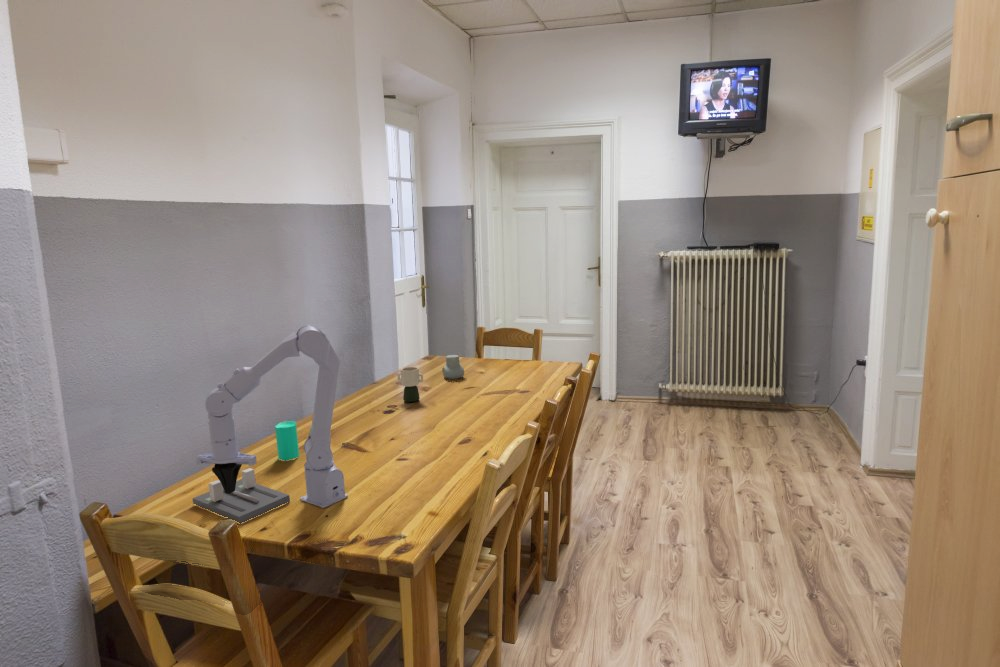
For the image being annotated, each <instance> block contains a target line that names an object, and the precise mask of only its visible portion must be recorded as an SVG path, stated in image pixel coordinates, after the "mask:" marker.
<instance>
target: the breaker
mask: <svg viewBox="0 0 1000 667" xmlns="http://www.w3.org/2000/svg"><path fill="white" fill-rule="evenodd" d="M240 471H241V479H242V481H243V487H244V488H247V489H248V488H251V487H253V486H256V484H257V482H256V474H255V469H254V468H251V467H249V468H246V469H243V470H240Z"/></svg>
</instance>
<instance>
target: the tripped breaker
mask: <svg viewBox="0 0 1000 667" xmlns="http://www.w3.org/2000/svg"><path fill="white" fill-rule="evenodd" d="M208 492H210V500H212V501H214V502H216V501H218V500H221V499H223V498H224V493H223V486H222V484H221V482H220V480H219V479H217V480H216V479H215V480H214V481H211V482H209V483H208Z"/></svg>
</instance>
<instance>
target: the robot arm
mask: <svg viewBox="0 0 1000 667" xmlns="http://www.w3.org/2000/svg"><path fill="white" fill-rule="evenodd" d="M296 331H297V332H296ZM296 331H294V332H292V333H290V334H289V335H288V336H286V337H285V338H284V339H282V340H281V341H280V342H279V343H278V344H276V345H275V346H274V347H273V348H272V349H271V350H270V351H268V352H267V353H266V354H265V355H264V356H263V357H261V358H260V359H259V360H258V361H257V362H256V363H255V364H253V365H252V366H243V367H241V368H240V369H239V368H236V369H234V370H233V372H232V373H233V374H232V375H231V376H230V377H228V378H227V379H226V380H225V381H224V382H219V383H218V384H217V385H216V388H213V389H212V390H210V391H209V392H208V394H207V397H206V400H205V403H204V404H205V405H204V406H205V410H206V412H208V413H207V417H208V420H209V421H208V430H209V437H210V444H211V451H212V452H211V453H201V454H199V455H197V456H196V457H195V458H196V463H197V464H196V465H203V464H209V465H211V464H214V466H213V467H212V468H211V471H212V473H213V474H215V476H216V477H217V480H219V481H220V482H221V484H222V486H223V488H224V491H225V493H226V494H231V493H232V492H234V491H235V487H236V481H238V476H239V473H240V471H241V467H242V466H243V465H248V466H250V467H251V466H252V467H253V466H254V465H256V464H257V463H258V461H257V455H255V454H249V453H244V452H239V446H238V445H239V444H238V437H237V436H238V435H237V430H236V429H237V428H236V419H235V417H234V414H233V413H234V412H233V407H234V404H237V403H239V402H240V401H242V400H243V399H244V398H245V397H247V396H248V395H249V394H250V393H252V392H253V391H254V390H255V389H256V388H258V387H259V386H260V385H261V377H263V376H264V375H266V374H267V373H268V372H269V371H271V370H272V369H274V368H275V367H276V366H277V365H279V364H280V363H282V362H283V361H285V360H286V359H287V358H292V357H293V358H295V357H300V356H301V355H300V352H301V353H302V354H303V355H304V356H306V357H309V358H311V359H312V360H313V361H314V362H315V363H316V364H317V366H318V371H317V372H318V374H317V381H316V389H315V395H314V396H315V397H314V403H313V411H312V419H311V426H310V429H309V433H308V434H309V435H308V437H307V439H305V441H304V444H303V450H304V454H305V459H306V460H305V463H304V466H303V469H304V478H305V488H306V494H305V495H303V496H300V497H299V500H300V501H302V502H305V503H308V504H310V505H313V504H314V505H313V506H316V507H319V508H322V509H326V508H327V507H329V506H332V505H334V504H335V503H338V502H339V501H342V500H344V499H346V498H348V497H349V495H348V494H347V493H346V490H345V488H346V487H345V478H344V477H345V476H344V473H343V471H342V470H341V469H339V468H338V467H336V464H335V462H334V459H333V455H334V454H333V451H332V448H331V439H332V435H331V430H332V422H333V414H334V406H335V401H336V400H335V399H336V392H337V387H338V386H337V385H338V376H339V369H340V359H339V357H338V356H337V355H338V354H337V353H336V351H335V350H334V347H333V346H332V344H331V342H330V341H329V339H328V338H327V336H326V334H324V332H323V331H321V330H320V329H319V328H318V327H317V326H315V325H312V324H306V325H303V326H301V327H299V329H298V330H296Z"/></svg>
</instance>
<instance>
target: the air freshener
mask: <svg viewBox="0 0 1000 667" xmlns="http://www.w3.org/2000/svg"><path fill="white" fill-rule="evenodd" d="M445 364H446V365H444V366H443V367H442V369H441V371H442V376H443V378H444V379H447V380H457V378H459V379H460V378H463V377H464V375H465V369H464V366H463V365H461V364H460V355H459V354H458V355H457V354H448V355H446V356H445Z"/></svg>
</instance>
